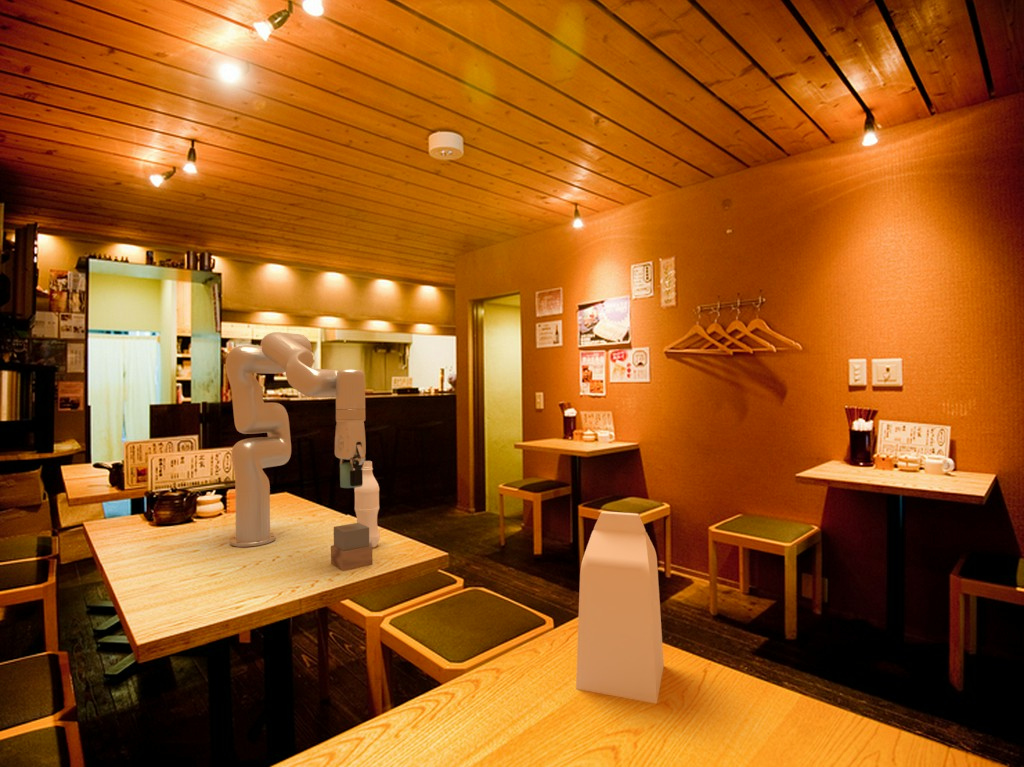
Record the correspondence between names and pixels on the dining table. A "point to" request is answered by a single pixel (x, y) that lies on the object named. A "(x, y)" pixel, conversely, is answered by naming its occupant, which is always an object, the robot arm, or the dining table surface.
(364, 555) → the tower base
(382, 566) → the dining table surface
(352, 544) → the tower mid
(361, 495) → the water bottle
